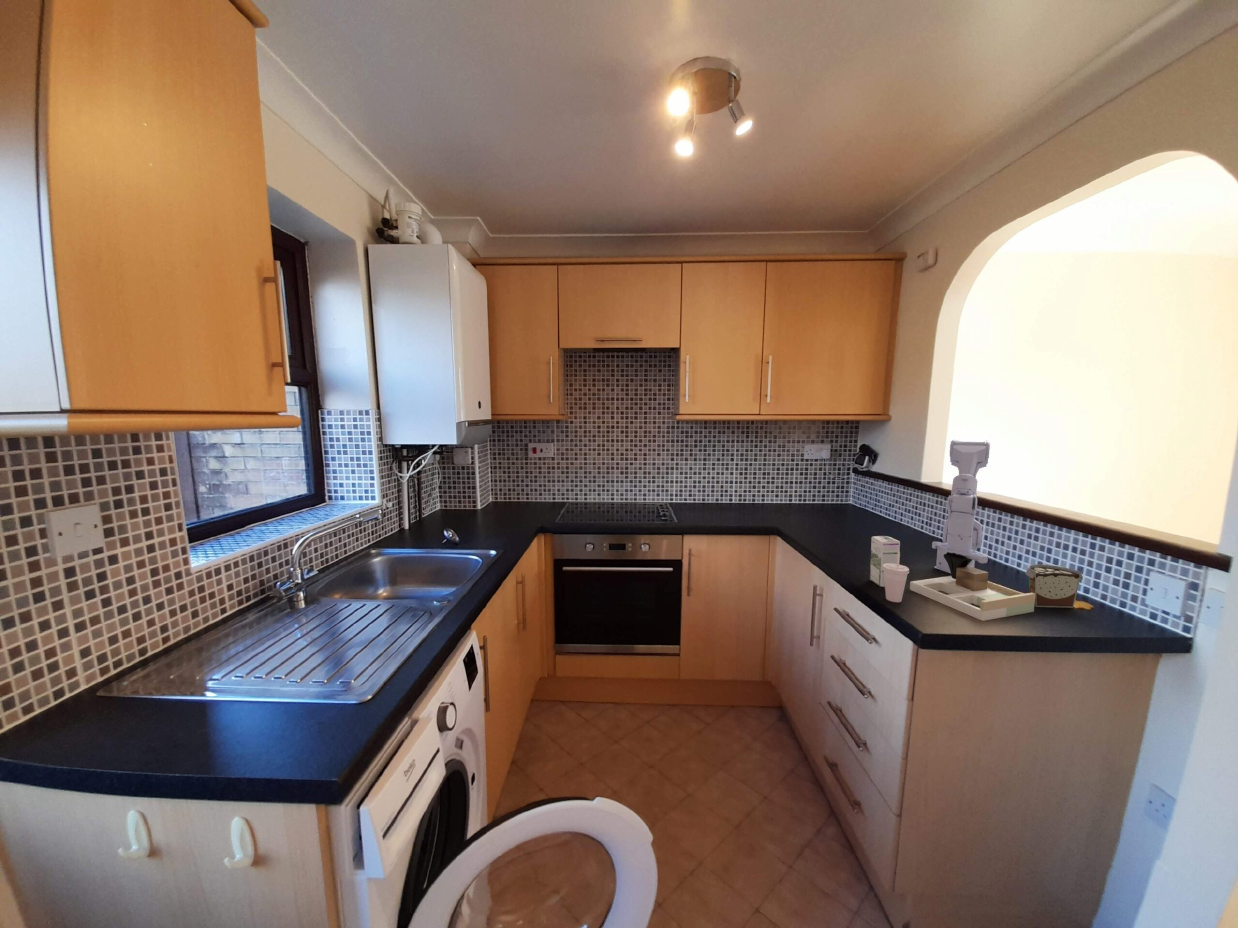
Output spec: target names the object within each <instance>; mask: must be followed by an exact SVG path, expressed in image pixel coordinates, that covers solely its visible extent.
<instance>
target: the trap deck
mask: <svg viewBox="0 0 1238 928" xmlns="http://www.w3.org/2000/svg"><path fill="white" fill-rule="evenodd" d="M909 590H910V591H912V592H914V593H916V594H919V595H922V596H924V597H927V598H929V599H931V600H933V601H936V602H938V603H941V604H942V605H944V606H947V607H949V608H952V609H955V610H956V611H958V612H961V613H964V614H966V615H968V616H971V617H972V618H975V619H977V620H979V621H982V622H984V621H990V620H994V619H996V620H997V619H1001V618H1002V619H1003V618H1006V617H1007V618H1008V617H1012V616H1017V615H1023V614H1028V613H1034V612H1035V606H1034V604H1035V593H1029V592H1027V593H1024V592H1020V591H1018V590H1014V589H1012V588H1009V587H1007V586H1003V585H1001V584H998V583H994V582H992V581H989V580H988V583H987V589H985V590H979V591H972V590H969V589H966V588H964V587H961V586H958V585H956V579H953V578H952V577H951V575H948V576H940V577H933V578H932V577H931V578H927V579H920V580H913V581H910V583H909ZM940 591H941V592H940ZM946 593H947V594H946ZM972 604H974V605H975V606H974V605H972ZM977 606H978V607H977Z"/></svg>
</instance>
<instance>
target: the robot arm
mask: <svg viewBox="0 0 1238 928" xmlns="http://www.w3.org/2000/svg"><path fill="white" fill-rule="evenodd" d="M990 449H991V441H989V440H966V439H965V440H963V439H961V440H960V439H957V440H956V439H952V440H951V441H950V443H949V462H950V465H951V466H953V467H956V468H957V470H958V474H957V475H955V476H954V477H953V479H952V485H951V491H950V495H948V498H947V506H946V507H947V508H946V509H947V519H946V520H945V521H944V525H943V530H942V542H941V541H932V543H931V548H932V549H933V550H934V549H935V550H937V552H936V565H935V566H934V569H936V570H939V571H942V572H945V573H948V574H950V576H951V577H952V578H953V579H956V571H957V568H961V567H969V566H970V567H973V568H975V562H978V563H979V564H987V563H988V560H989V559H988V558H989V556H987V555H985V554H983V553H980V552H978V551H976V550H977V549H980V548H981V547H982V541H983V525H982V523H981V522H979V521H978V520H976V519H975V515H976V514H977V509H978V496H977V495H978V494H977V492H978V491H977V489H978V479H977V478H976V476H977V474H978V473H979V471H980V469H983V468H987V465H988V463H989V459H990ZM973 511H974V513H973Z"/></svg>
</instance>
